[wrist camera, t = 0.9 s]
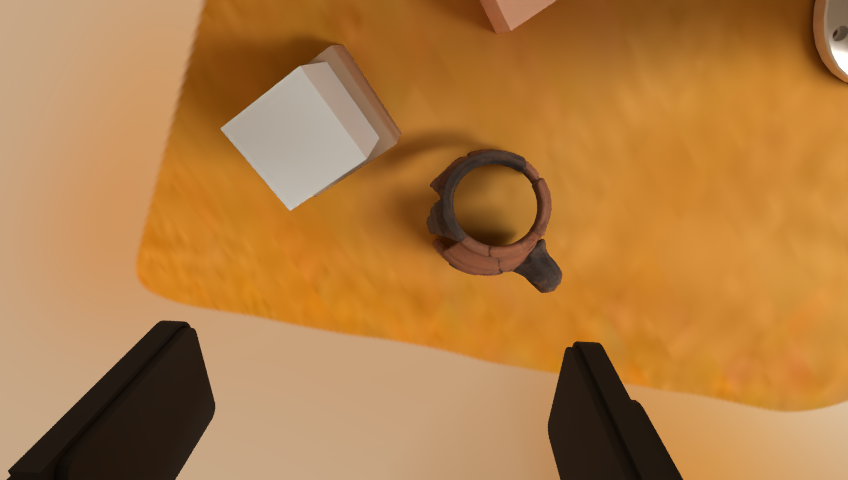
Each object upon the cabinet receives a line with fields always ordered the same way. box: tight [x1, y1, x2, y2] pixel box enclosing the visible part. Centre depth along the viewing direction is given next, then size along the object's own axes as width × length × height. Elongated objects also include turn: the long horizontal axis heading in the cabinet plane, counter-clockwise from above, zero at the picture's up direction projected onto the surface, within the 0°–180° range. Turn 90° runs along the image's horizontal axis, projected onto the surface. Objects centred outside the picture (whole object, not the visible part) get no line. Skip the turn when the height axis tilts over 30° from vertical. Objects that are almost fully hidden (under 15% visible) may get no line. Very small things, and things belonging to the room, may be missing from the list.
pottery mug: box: [427, 149, 562, 293], centre depth 31 cm, size 12×10×8 cm
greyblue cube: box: [220, 62, 379, 211], centre depth 24 cm, size 6×6×6 cm
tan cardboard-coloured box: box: [306, 45, 401, 197], centre depth 28 cm, size 7×7×4 cm
